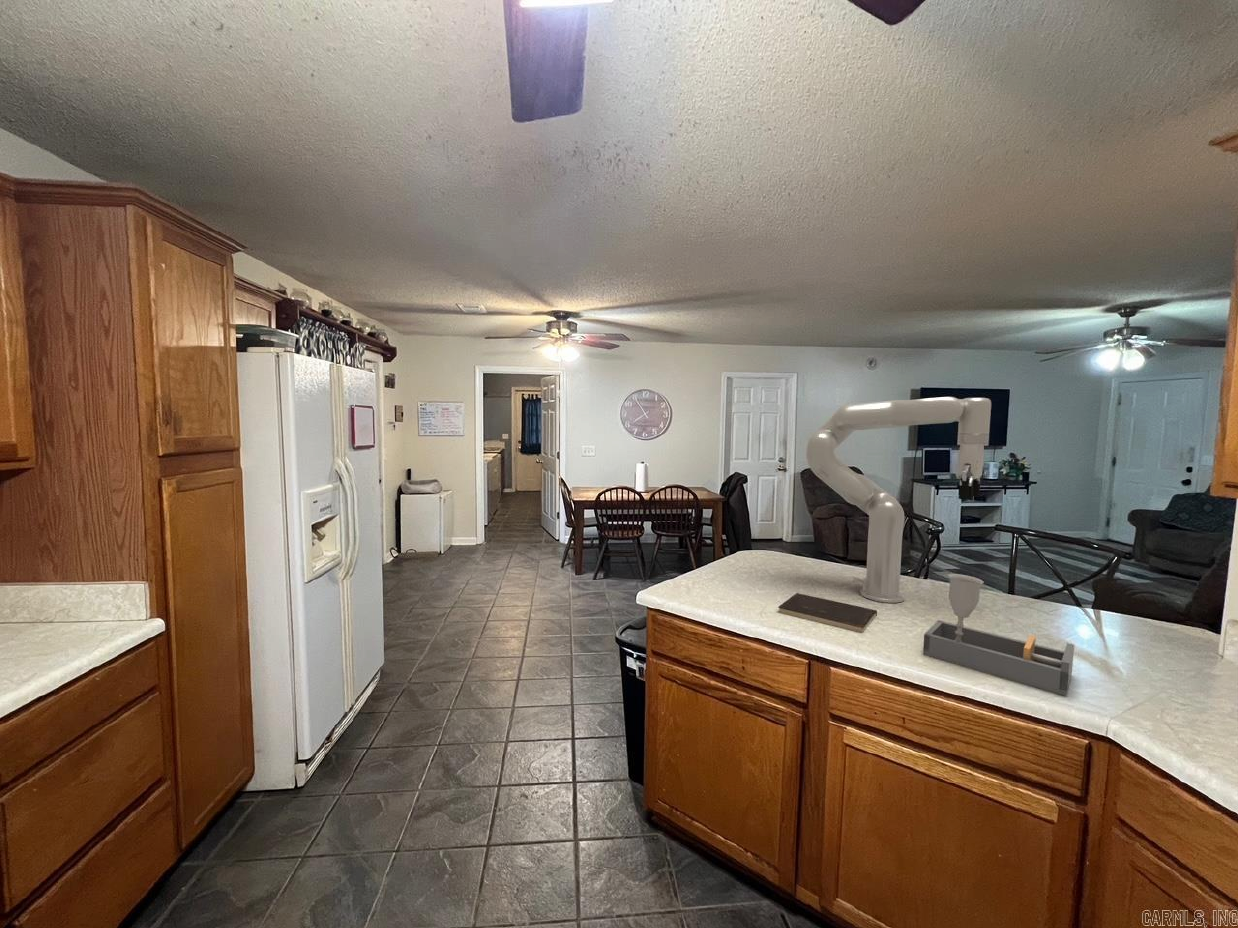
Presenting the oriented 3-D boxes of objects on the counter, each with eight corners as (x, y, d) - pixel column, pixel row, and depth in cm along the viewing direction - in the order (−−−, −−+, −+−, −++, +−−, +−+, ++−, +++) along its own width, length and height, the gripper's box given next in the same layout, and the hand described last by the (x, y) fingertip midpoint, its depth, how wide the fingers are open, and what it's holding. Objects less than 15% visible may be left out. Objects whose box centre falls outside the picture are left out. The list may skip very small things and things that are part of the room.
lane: (922, 654, 122) (924, 625, 122) (936, 638, 131) (938, 612, 130) (1066, 696, 104) (1069, 663, 103) (1071, 675, 113) (1074, 644, 112)
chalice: (980, 661, 117) (990, 585, 115) (947, 657, 118) (956, 581, 116) (965, 647, 124) (973, 575, 122) (934, 644, 125) (942, 572, 123)
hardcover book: (862, 635, 134) (863, 626, 134) (777, 614, 148) (778, 606, 148) (876, 617, 147) (877, 609, 146) (797, 599, 161) (797, 592, 161)
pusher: (1021, 674, 110) (1023, 647, 110) (1027, 660, 117) (1029, 635, 116) (1059, 684, 106) (1061, 657, 105) (1063, 669, 112) (1065, 643, 112)
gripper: (964, 439, 158) (961, 493, 160) (950, 440, 146) (946, 499, 148) (994, 439, 153) (990, 496, 155) (982, 441, 141) (977, 502, 142)
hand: (969, 497), depth 151 cm, fingers open, 9 cm apart
